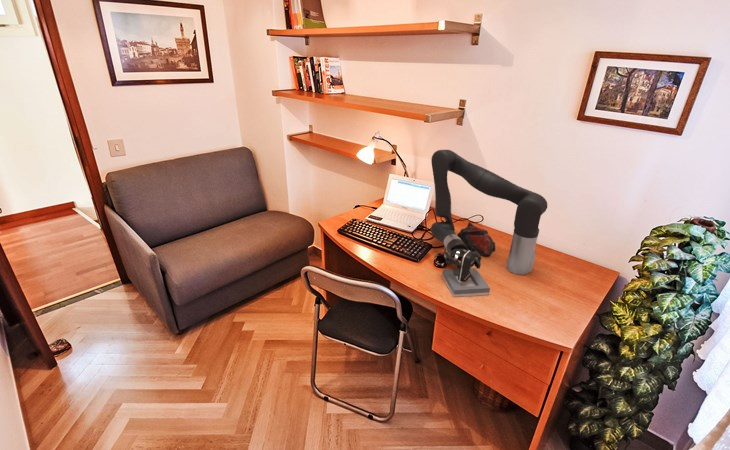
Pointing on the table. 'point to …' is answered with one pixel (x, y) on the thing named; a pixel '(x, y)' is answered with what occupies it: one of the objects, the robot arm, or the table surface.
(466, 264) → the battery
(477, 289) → the tray
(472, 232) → the drone shell
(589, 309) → the table surface
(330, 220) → the table surface
